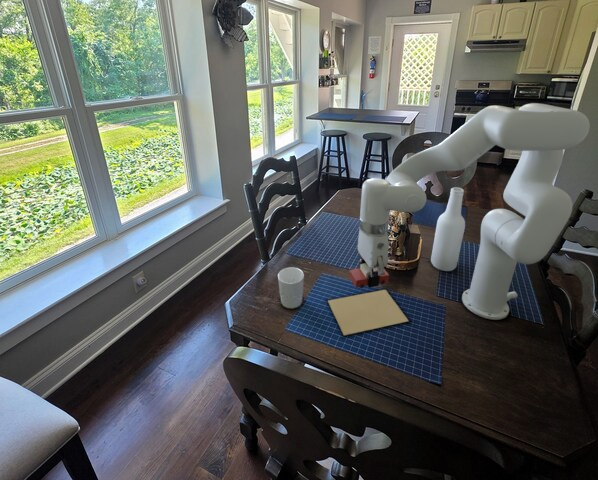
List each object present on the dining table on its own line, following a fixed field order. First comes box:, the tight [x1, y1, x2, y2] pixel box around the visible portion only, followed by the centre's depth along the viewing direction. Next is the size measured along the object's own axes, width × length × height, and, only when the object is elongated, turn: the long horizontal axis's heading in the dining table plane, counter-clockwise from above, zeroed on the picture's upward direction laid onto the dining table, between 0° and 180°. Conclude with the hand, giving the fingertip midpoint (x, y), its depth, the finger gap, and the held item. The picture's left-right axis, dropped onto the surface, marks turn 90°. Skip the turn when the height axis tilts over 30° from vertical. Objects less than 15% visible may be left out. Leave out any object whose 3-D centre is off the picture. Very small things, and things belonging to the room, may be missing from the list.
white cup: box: [277, 266, 305, 309], centre depth 99 cm, size 8×8×10 cm
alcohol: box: [430, 186, 466, 272], centre depth 112 cm, size 9×9×30 cm
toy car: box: [348, 263, 390, 289], centre depth 92 cm, size 10×5×5 cm, turn 104°
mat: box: [327, 289, 409, 336], centre depth 97 cm, size 20×14×1 cm
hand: (368, 279), depth 93 cm, fingers closed on toy car, 5 cm apart
